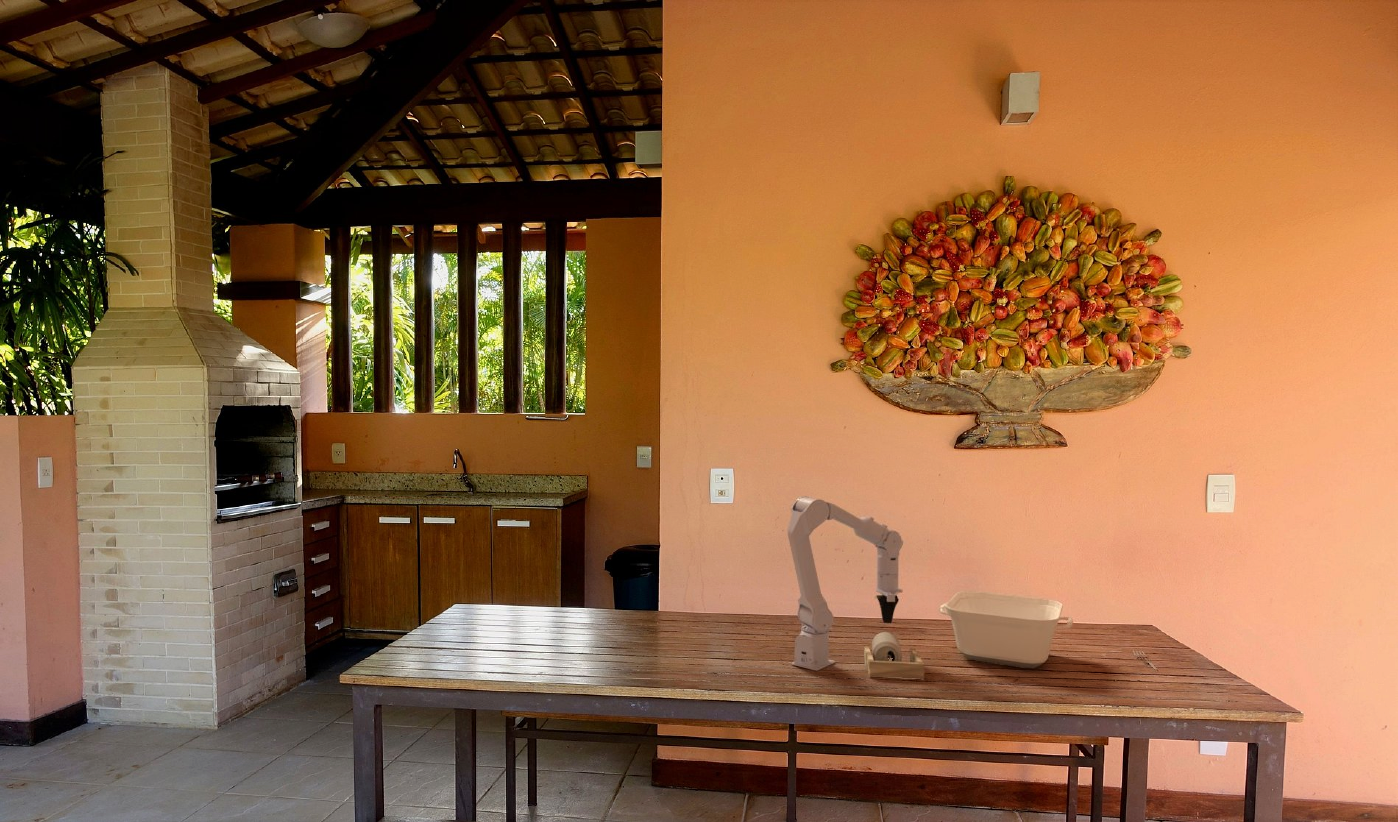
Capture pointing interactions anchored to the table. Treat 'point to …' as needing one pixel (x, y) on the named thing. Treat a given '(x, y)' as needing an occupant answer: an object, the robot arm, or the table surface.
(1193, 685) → the table surface
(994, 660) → the pot
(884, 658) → the can
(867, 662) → the tray
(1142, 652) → the fork
